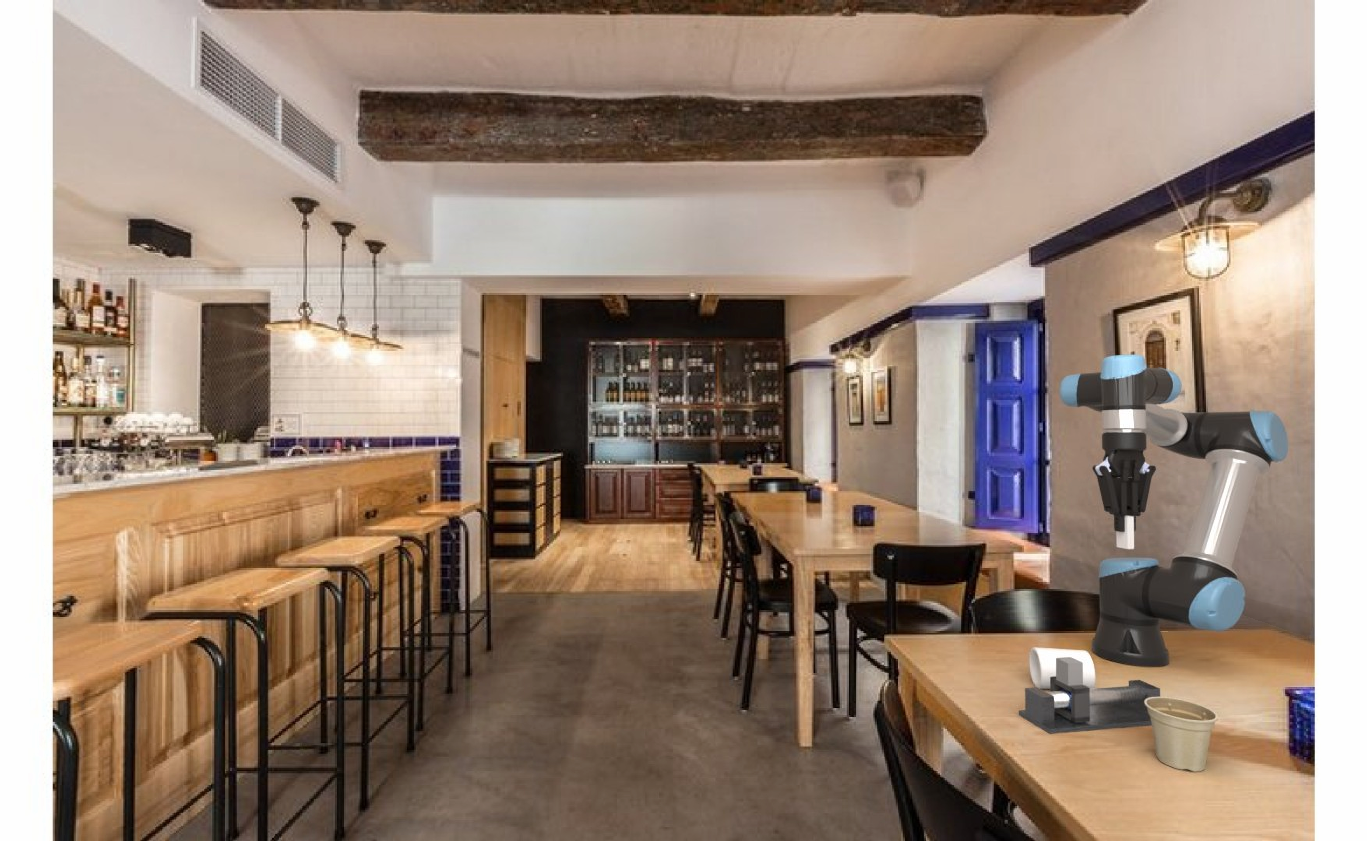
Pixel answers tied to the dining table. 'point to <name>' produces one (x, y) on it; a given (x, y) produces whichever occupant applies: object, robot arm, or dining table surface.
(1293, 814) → the dining table surface
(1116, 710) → the pipe rig
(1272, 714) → the dining table surface
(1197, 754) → the flower pot
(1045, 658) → the mug
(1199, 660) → the dining table surface
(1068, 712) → the collar
